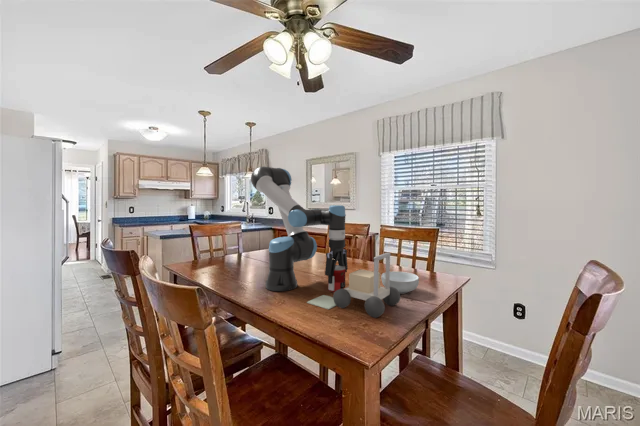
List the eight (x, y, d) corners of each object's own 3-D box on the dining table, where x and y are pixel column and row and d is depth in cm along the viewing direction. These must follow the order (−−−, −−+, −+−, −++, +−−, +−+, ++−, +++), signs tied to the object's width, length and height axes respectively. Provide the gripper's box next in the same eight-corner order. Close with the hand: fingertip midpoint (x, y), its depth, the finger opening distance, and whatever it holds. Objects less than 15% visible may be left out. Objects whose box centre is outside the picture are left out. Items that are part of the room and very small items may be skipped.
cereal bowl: (381, 284, 139) (381, 270, 138) (415, 286, 135) (416, 272, 135) (381, 295, 122) (381, 279, 122) (421, 298, 119) (421, 282, 118)
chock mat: (306, 302, 113) (306, 301, 113) (323, 295, 121) (323, 294, 121) (328, 309, 106) (328, 308, 106) (344, 301, 115) (344, 300, 115)
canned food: (344, 293, 124) (344, 269, 123) (326, 292, 126) (326, 268, 125) (346, 288, 131) (346, 265, 131) (329, 287, 133) (329, 264, 133)
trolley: (333, 305, 110) (333, 252, 109) (354, 294, 123) (355, 246, 122) (382, 319, 97) (383, 259, 96) (400, 305, 110) (401, 252, 109)
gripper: (330, 242, 117) (330, 295, 118) (355, 237, 133) (355, 284, 134) (316, 240, 122) (316, 291, 123) (342, 235, 138) (342, 281, 139)
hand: (336, 287), depth 128 cm, fingers closed on canned food, 8 cm apart
